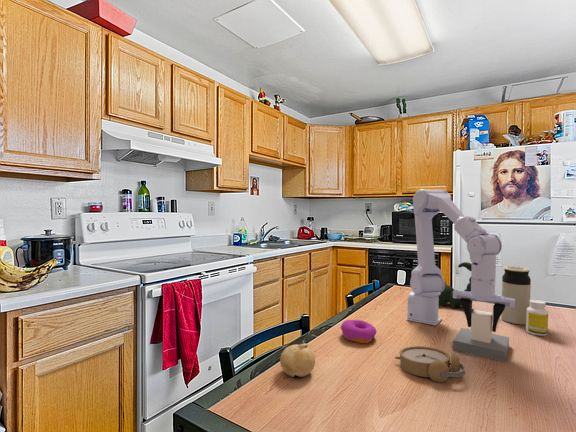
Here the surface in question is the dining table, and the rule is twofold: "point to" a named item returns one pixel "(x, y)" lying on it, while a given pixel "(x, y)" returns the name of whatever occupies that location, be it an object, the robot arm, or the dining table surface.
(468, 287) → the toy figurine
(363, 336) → the donut
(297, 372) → the onion
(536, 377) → the dining table surface
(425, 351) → the alarm clock
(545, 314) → the supplement bottle
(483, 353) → the base block
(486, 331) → the ivory block
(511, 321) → the travel mug
